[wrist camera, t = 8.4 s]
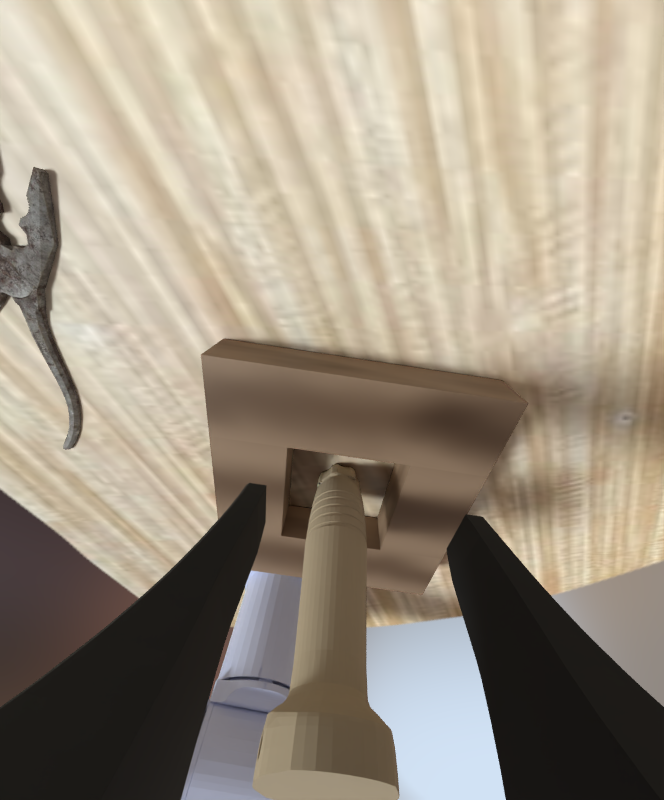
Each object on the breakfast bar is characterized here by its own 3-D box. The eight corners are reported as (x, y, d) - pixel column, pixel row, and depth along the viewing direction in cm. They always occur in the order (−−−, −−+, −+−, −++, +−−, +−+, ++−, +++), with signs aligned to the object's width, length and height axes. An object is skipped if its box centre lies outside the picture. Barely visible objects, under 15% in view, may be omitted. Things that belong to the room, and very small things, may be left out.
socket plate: (415, 561, 27) (422, 595, 25) (235, 535, 27) (222, 566, 25) (502, 380, 18) (528, 403, 15) (223, 338, 18) (200, 354, 15)
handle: (303, 497, 24) (245, 797, 11) (319, 440, 21) (266, 762, 8) (356, 509, 24) (362, 814, 11) (380, 454, 21) (427, 787, 8)
